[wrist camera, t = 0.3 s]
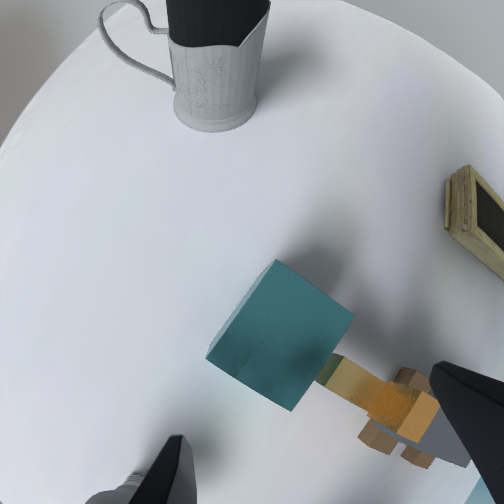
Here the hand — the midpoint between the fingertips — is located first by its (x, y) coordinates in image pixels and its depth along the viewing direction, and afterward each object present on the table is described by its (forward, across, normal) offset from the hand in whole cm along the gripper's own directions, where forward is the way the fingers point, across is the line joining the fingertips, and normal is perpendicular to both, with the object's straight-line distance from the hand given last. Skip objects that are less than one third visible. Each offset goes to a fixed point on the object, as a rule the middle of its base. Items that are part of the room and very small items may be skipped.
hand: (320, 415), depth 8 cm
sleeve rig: (+10, -7, +13) cm, 18 cm away
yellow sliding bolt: (+7, -10, +13) cm, 18 cm away
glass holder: (+25, +3, -15) cm, 30 cm away
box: (+17, -30, +5) cm, 35 cm away
